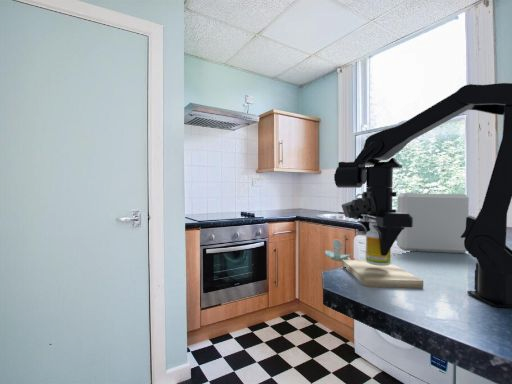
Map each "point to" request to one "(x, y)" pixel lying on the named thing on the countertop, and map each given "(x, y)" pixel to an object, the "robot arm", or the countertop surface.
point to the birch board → (381, 275)
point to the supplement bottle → (375, 248)
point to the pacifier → (337, 252)
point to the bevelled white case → (434, 222)
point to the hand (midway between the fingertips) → (378, 252)
